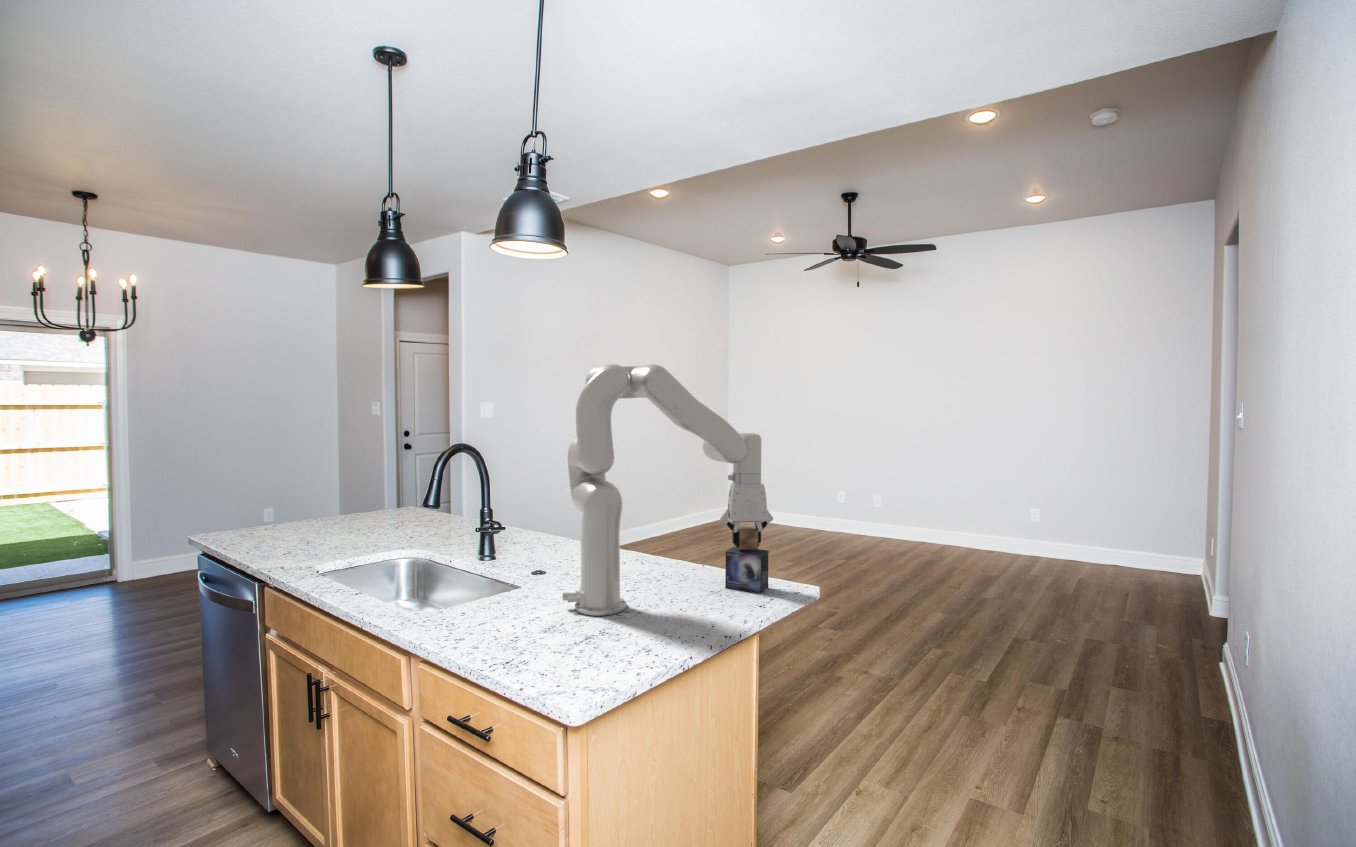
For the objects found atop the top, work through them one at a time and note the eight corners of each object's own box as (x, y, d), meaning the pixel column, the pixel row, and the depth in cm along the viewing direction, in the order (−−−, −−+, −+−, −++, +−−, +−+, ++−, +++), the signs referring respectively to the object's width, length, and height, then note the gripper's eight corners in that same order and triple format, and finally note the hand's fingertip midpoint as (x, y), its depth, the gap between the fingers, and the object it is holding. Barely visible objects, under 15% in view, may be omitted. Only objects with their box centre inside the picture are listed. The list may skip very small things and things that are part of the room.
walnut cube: (740, 549, 175) (740, 530, 174) (735, 545, 180) (735, 527, 179) (758, 548, 175) (758, 530, 175) (752, 544, 180) (753, 526, 180)
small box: (723, 588, 178) (724, 550, 177) (733, 582, 183) (733, 545, 183) (760, 594, 173) (761, 555, 172) (769, 587, 178) (769, 549, 178)
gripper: (719, 481, 172) (719, 550, 172) (781, 480, 174) (781, 547, 175) (713, 477, 179) (712, 543, 180) (773, 476, 182) (772, 541, 183)
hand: (746, 545), depth 177 cm, fingers closed on walnut cube, 4 cm apart
